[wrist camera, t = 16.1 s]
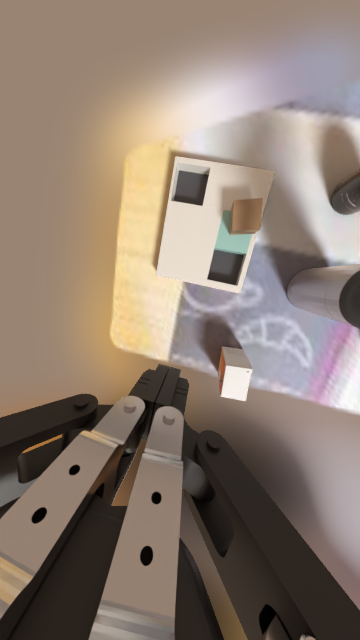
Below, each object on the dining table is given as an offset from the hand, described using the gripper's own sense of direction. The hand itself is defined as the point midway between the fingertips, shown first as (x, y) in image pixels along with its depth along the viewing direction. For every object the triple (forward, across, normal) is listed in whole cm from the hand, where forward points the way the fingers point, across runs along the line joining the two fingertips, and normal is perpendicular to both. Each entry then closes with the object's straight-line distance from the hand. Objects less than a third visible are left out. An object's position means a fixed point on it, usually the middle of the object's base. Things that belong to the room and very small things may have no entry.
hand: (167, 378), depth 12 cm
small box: (+35, -12, +13) cm, 39 cm away
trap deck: (+35, +1, -17) cm, 39 cm away
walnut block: (+32, -5, -20) cm, 38 cm away
